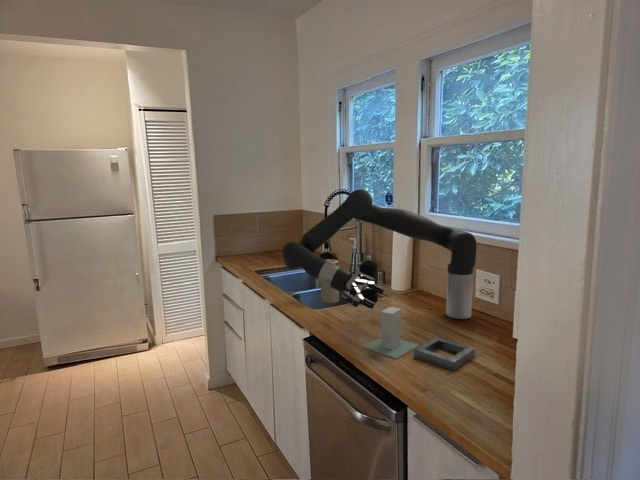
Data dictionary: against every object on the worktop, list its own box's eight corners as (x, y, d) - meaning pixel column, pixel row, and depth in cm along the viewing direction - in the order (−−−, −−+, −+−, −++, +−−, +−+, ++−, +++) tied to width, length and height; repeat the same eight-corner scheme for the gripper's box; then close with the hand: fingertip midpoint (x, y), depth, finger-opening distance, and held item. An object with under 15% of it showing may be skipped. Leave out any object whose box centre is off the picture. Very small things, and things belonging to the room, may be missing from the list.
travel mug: (339, 303, 178) (339, 262, 175) (321, 304, 178) (320, 263, 175) (338, 298, 186) (338, 259, 183) (320, 298, 186) (320, 259, 183)
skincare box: (389, 341, 136) (389, 306, 135) (401, 344, 134) (401, 308, 132) (380, 347, 132) (380, 311, 130) (392, 350, 129) (392, 313, 127)
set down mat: (386, 335, 142) (386, 334, 142) (419, 346, 133) (419, 345, 133) (362, 347, 133) (362, 346, 133) (396, 359, 124) (396, 358, 124)
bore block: (435, 344, 134) (436, 336, 134) (474, 356, 125) (474, 348, 125) (413, 357, 125) (414, 349, 125) (454, 370, 116) (454, 362, 116)
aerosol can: (379, 298, 185) (379, 254, 181) (376, 303, 177) (376, 258, 174) (360, 297, 187) (360, 253, 184) (357, 302, 179) (357, 257, 176)
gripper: (327, 279, 130) (374, 302, 126) (346, 258, 141) (389, 279, 137) (322, 296, 135) (367, 319, 130) (341, 274, 146) (382, 295, 141)
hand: (378, 298), depth 134 cm, fingers open, 8 cm apart
